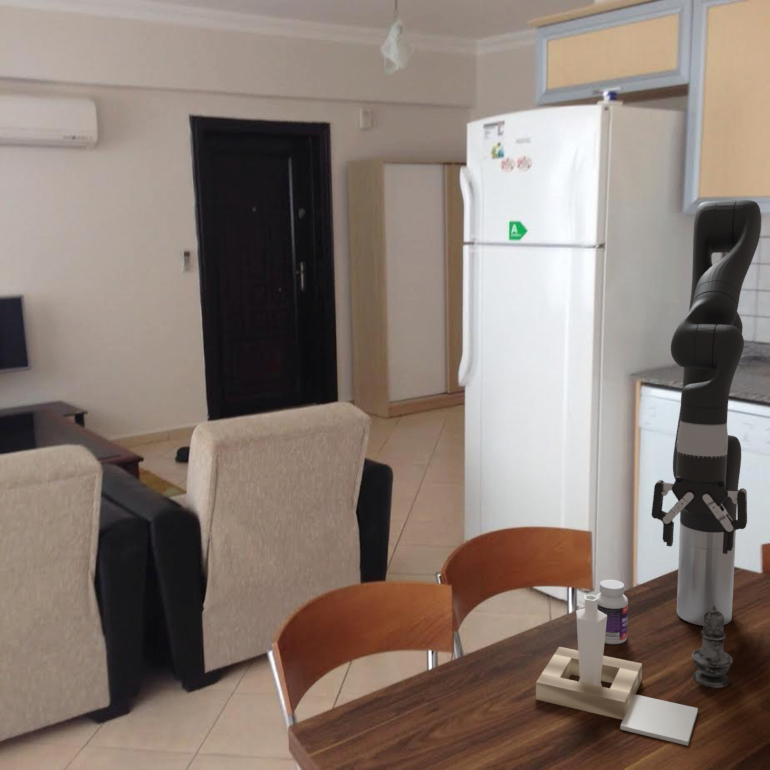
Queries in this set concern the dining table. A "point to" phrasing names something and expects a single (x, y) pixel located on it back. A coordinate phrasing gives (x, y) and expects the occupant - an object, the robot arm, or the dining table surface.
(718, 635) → the black chess piece
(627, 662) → the frame
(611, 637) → the pill bottle
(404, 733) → the dining table surface
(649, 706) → the coaster
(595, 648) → the white vase
